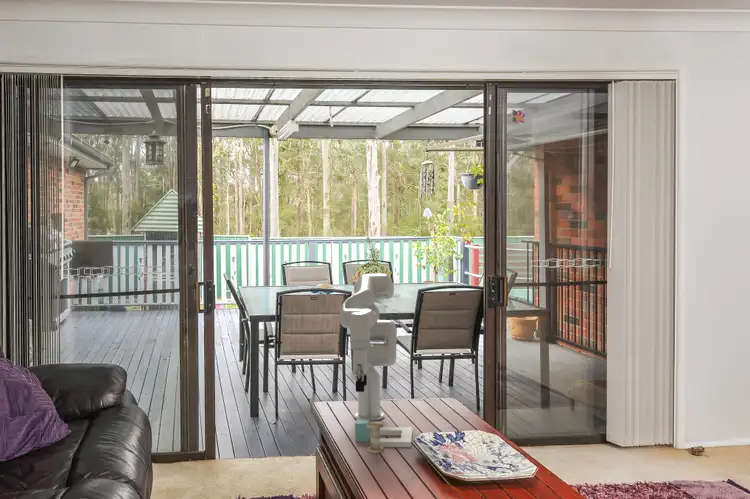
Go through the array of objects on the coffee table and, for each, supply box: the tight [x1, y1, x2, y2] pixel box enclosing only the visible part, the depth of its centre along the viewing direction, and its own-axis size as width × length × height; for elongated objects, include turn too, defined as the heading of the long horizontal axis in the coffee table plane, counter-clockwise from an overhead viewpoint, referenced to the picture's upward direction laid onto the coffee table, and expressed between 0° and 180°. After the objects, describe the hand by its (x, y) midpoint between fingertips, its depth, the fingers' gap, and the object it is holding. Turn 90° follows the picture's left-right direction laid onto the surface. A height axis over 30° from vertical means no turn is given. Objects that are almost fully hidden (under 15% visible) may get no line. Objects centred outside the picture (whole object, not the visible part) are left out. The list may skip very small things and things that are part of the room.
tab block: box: [354, 419, 370, 442], centre depth 293 cm, size 5×5×7 cm
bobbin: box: [366, 420, 384, 454], centre depth 279 cm, size 6×6×10 cm
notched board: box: [380, 426, 414, 448], centre depth 292 cm, size 18×14×2 cm
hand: (361, 388), depth 291 cm, fingers open, 9 cm apart
